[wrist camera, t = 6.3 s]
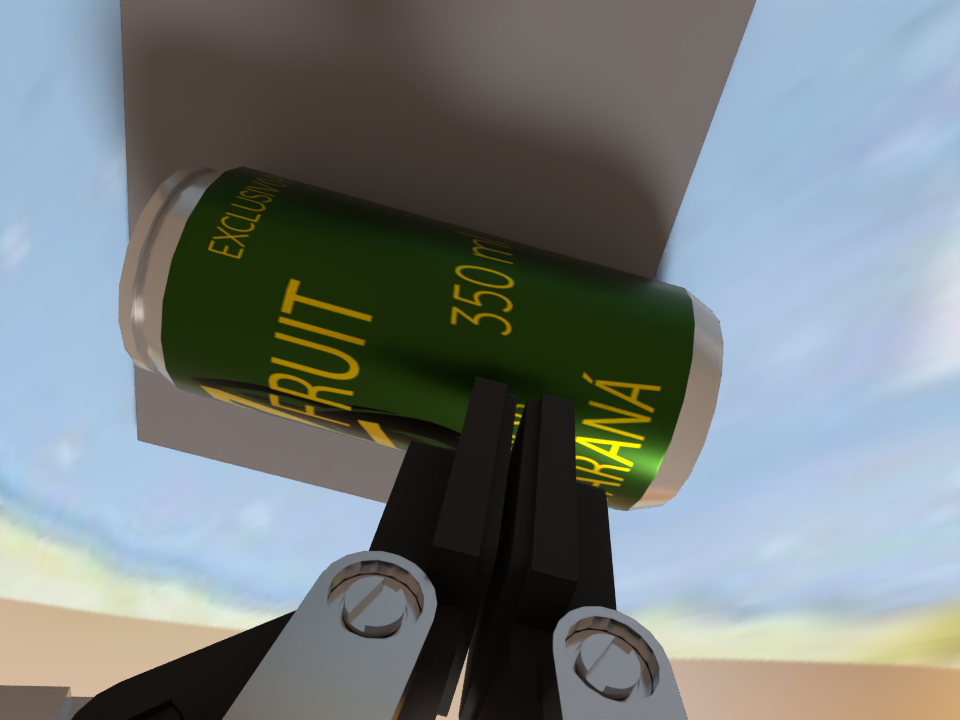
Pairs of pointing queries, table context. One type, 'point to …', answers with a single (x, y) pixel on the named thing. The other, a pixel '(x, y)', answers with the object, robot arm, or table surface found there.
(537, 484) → the robot arm
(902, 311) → the table surface
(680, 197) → the mat
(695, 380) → the green soda can
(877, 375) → the table surface
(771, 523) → the table surface
